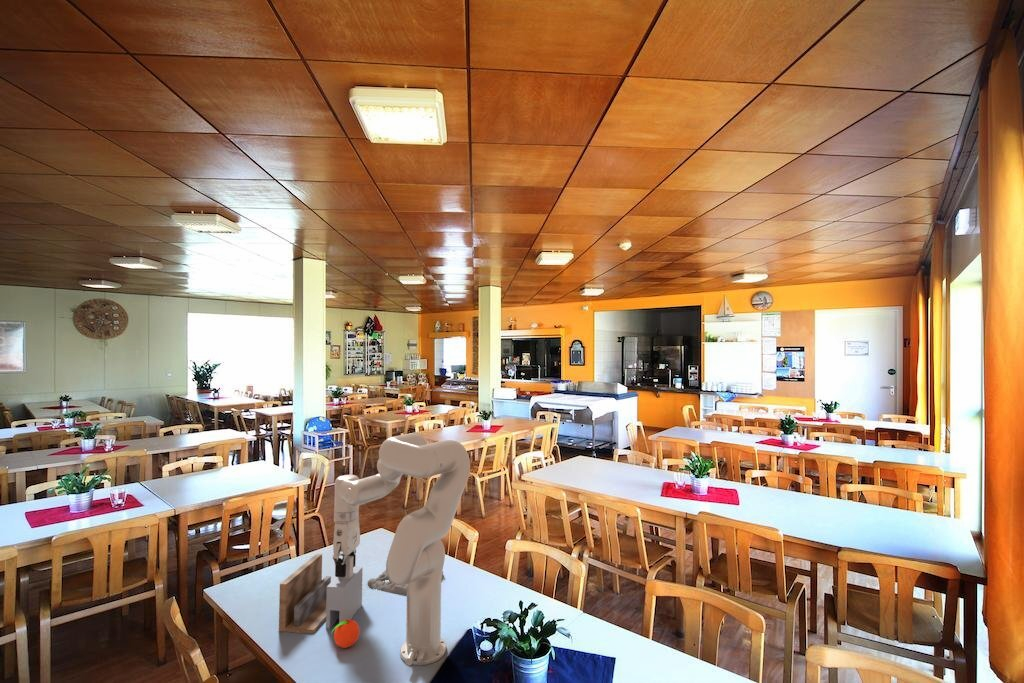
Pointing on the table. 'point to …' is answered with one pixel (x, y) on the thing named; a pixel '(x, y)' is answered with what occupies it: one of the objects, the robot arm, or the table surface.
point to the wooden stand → (304, 598)
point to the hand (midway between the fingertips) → (345, 571)
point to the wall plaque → (388, 584)
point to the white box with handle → (344, 594)
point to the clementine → (346, 633)
